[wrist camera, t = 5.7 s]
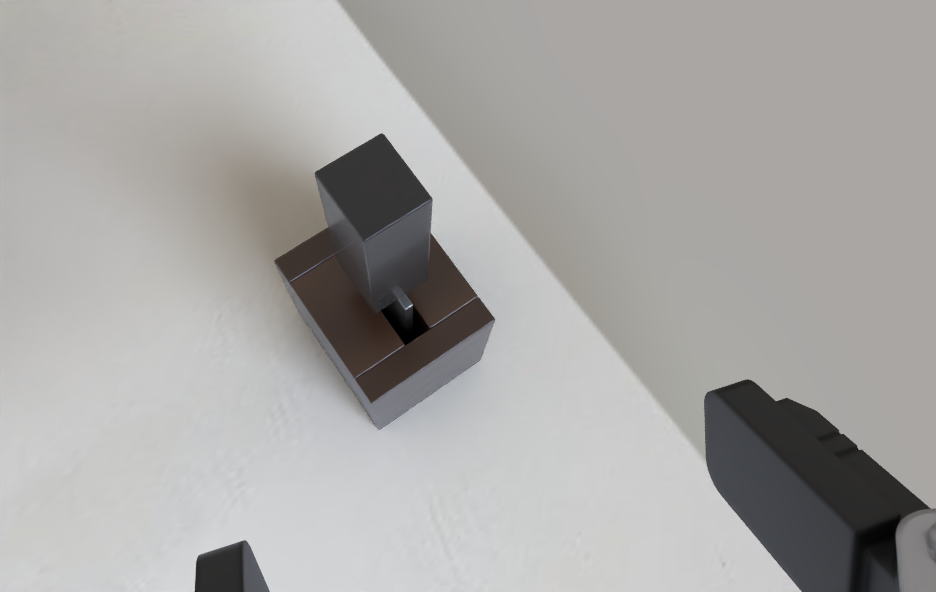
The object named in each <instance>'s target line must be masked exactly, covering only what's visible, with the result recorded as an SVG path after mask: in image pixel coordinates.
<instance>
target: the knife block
mask: <svg viewBox="0 0 936 592" xmlns="http://www.w3.org/2000/svg"><path fill="white" fill-rule="evenodd" d="M274 262H275V265H276V267H277V269H278V271H279V273H280V275H281V277H282V279H283V281H284V283H285V285H286V287H287V289H288V291H289V293H290V295H291V297H292V299H293V302H294V304H295V306H296V308H297V310H298V312H299V313H300V315H301V316H302V318H303V319H304V321H305V322H306V324H307V325H308V326H309V328H310V329H311V331H312V332H313V334H314V335H315V337H316V338H317V340H318V341H319V343H320V344H321V346H322V347H323V349H324V350H325V352H326V353H327V354H328V356H329V357H330V359H331V360H332V362H333V363H334V365H335V366H336V368H337V369H338V371H339V372H340V374H341V375H342V377H343V378H344V379H345V381H346V382H347V384H348V385H349V387H350V388H351V390H352V391H353V393H354V394H355V396H356V397H357V399H358V400H359V402H360V403H361V404H362V406H363V407H364V409H365V410H366V412H367V413H368V415H369V416H370V418H371V419H372V421H373V422H374V424H375V425H376V427H377V428H378V429H379V430H380V429H382V428H383V427H385V426H386V425H388V424H389V423H390V422H392V421H393V420H395V419H396V418H398V417H399V416H401V415H402V414H403V413H405V412H406V411H408V410H409V409H411V408H412V407H414V406H415V405H416V404H418V403H419V402H421V401H422V400H424V399H425V398H427V397H428V396H429V395H431V394H432V393H434V392H435V391H437V390H438V389H440V388H441V387H442V386H444V385H445V384H447V383H448V382H450V381H451V380H453V379H454V378H455V377H457V376H458V375H460V374H461V373H463V372H464V371H466V370H467V369H468V368H470V367H471V366H473V365H474V364H476V363H477V362H479V361H480V360H481V357H482V355H483V352H484V349H485V346H486V344H487V341H488V338H489V335H490V333H491V330H492V327H493V324H494V322H495V318H494V317H493V316H492V314H491V313H490V312H489V310H488V309H487V308H486V306H485V305H484V304H483V302H482V301H481V300H480V298H477V297H478V296H477V294H476V293H475V292H474V290H473V289H472V288H471V286H470V285H469V284H468V282H467V281H466V280H465V278H464V277H463V276H462V274H461V273H460V272H459V270H458V269H457V268H456V266H455V265H454V264H453V262H452V261H451V259H450V258H449V257H448V255H447V254H446V253H445V251H444V250H443V249H442V247H441V246H440V245H439V243H438V242H437V241H436V239H435V238H434V237H433V235H432V234H431V233H430V249H429V265H428V279H427V281H425V282H424V283H422V284H421V285H419V286H418V287H416V288H414V289H413V290H411V291H410V292H408V293H407V294H406V296H407V297H408V298H409V300H410V301H411V302H412V304H413V341H412V342H410V343H409V344H407V345H406V346H405V344H404V343H403V341H402V340H401V339H400V337H399V336H398V334H397V333H396V332H395V330H394V329H393V327H392V326H391V325H390V323H389V322H388V320H387V319H386V317H385V316H384V315H383V313H382V312H381V311H379V312H377V313H374V312H373V311H372V309H371V308H370V306H369V305H368V303H367V302H366V301H365V299H364V298H363V296H362V295H361V294H360V292H359V291H358V289H357V288H356V286H355V285H354V284H353V282H352V281H351V279H350V278H349V276H348V275H347V274H346V272H345V271H344V269H343V268H342V267H341V265H340V264H339V262H338V261H337V258H336V254H335V250H334V247H333V243H332V239H331V235H330V231H329V227H328V228H326V229H325V230H323V231H321V232H320V233H318V234H317V235H315V236H313V237H312V238H310V239H308V240H307V241H305V242H303V243H302V244H300V245H298V246H297V247H295V248H294V249H292V250H290V251H289V252H287V253H285V254H284V255H282V256H280V257H279V258H277V259H276V260H275V261H274Z"/></svg>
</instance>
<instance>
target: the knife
mask: <svg viewBox="0 0 936 592" xmlns="http://www.w3.org/2000/svg"><path fill="white" fill-rule="evenodd" d="M315 178H316V181H317V185H318V189H319V193H320V197H321V201H322V204H323V208H324V212H325V216H326V220H327V224H328V227H329V231H330V235H331V239H332V243H333V247H334V250H335V254H336V258H337V261H338V262H339V264H340V265H341V267H342V268H343V269H344V271H345V272H346V274H347V275H348V276H349V278H350V279H351V281H352V282H353V284H354V285H355V286H356V288H357V289H358V291H359V292H360V294H361V295H362V296H363V298H364V299H365V301H366V302H367V303H368V305H369V306H370V308H371V309H372V311H373V312H374V313H377V312H379V311H381V312H382V313H383V315H384V316H385V317H386V319H387V320H388V322H389V323H390V325H391V326H392V327H393V329H394V330H395V332H396V333H397V334H398V336H399V337H400V339H401V340H402V341H403V343H404V344H405V346H406V345H407V344H409V343H410V342H412V341H413V304H412V302H411V301H410V300H409V298H408V297H407V296H406V294H407V293H408V292H410V291H411V290H413V289H414V288H416V287H418V286H419V285H421V284H422V283H424V282H425V281H427V279H428V265H429V249H430V232H431V215H432V197H431V196H430V195H429V194H428V192H427V191H426V190H425V188H424V187H423V186H422V184H421V183H420V182H419V180H418V179H417V178H416V176H415V175H414V174H413V172H412V171H411V170H410V168H409V167H408V166H407V164H406V163H405V162H404V160H403V159H402V158H401V156H400V155H399V154H398V152H397V151H396V150H395V148H394V147H393V146H392V145H391V143H390V142H389V141H388V139H387V138H386V137H385V135H384V134H379V135H378V136H376V137H374V138H372V139H371V140H369V141H367V142H366V143H364V144H362V145H361V146H359V147H357V148H355V149H354V150H352V151H350V152H349V153H347V154H345V155H343V156H342V157H340V158H338V159H337V160H335V161H333V162H332V163H330V164H328V165H326V166H325V167H323V168H321V169H320V170H318V171H316V172H315Z"/></svg>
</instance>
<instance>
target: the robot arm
mask: <svg viewBox="0 0 936 592" xmlns="http://www.w3.org/2000/svg"><path fill="white" fill-rule="evenodd" d="M704 404H705V405H704V409H705V440H706V441H705V443H706V462H707V467H708V471H709V474H710V476H711V479H712V481H713V483H714V485H715V487H716V489H717V490H718V492H719V493H720V494H721V496H722V497H723V498H724V499H725V500H726V502H727V503H728V504H729V505H730V506H731V508H732V509H733V510H734V511H735V512H736V514H737V515H738V516H739V517H740V518H741V520H742V521H743V522H744V523H745V524H746V526H747V527H748V528H749V529H750V530H751V531H752V533H753V534H754V535H755V536H756V537H757V539H758V540H759V541H760V542H761V543H762V545H763V546H764V547H765V548H766V549H767V551H768V552H769V553H770V554H771V555H772V557H773V558H774V559H775V560H776V561H777V563H778V564H779V565H780V566H781V567H782V569H783V570H784V571H785V572H786V573H787V575H788V576H789V577H790V578H791V579H792V581H793V582H794V583H795V584H796V585H797V586H798V588H799V589H800V590H801V591H802V592H936V509H931V508H929V507H928V506H927V505H926V504H924V503H923V502H922V501H921V500H920V499H919V498H917V497H916V496H915V495H914V494H913V493H912V492H910V491H909V490H908V489H907V488H906V487H905V486H903V485H902V484H901V483H900V482H899V481H898V480H896V479H895V478H894V477H893V476H892V475H890V474H889V473H888V472H887V471H886V470H885V469H883V468H882V467H881V466H880V465H879V464H878V463H877V462H876V461H874V460H873V459H872V458H871V457H870V456H869V455H867V454H866V453H865V452H864V451H863V450H858V448H857V445H856V444H854V443H853V442H852V441H851V440H850V439H849V438H847V437H846V436H845V435H844V434H840V433H839V430H838V429H837V428H836V427H835V426H833V425H832V424H831V423H830V422H829V421H828V420H827V419H825V418H824V417H823V416H822V415H821V414H820V413H818V412H817V411H815V410H813V409H811V408H808V407H806V406H804V405H802V404H799V403H797V402H795V401H793V400H790V399H788V398H785V399H782V400H779V401H775V400H774V399H773V398H772V397H770V396H769V395H768V394H767V393H766V392H765V391H764V390H763V389H762V388H760V387H759V386H758V385H757V384H756V383H755V382H753V381H751V380H743V381H741V382H737V383H734V384H731V385H728V386H725V387H722V388H719V389H716V390H712V391H710V392H708V393H707V394H706V396H705V400H704ZM195 592H270V591H269V589H268V587H267V584H266V582H265V580H264V577H263V575H262V573H261V570H260V568H259V566H258V563H257V561H256V559H255V557H254V554H253V552H252V550H251V547H250V545H249V544H248V542H247V541H246V540H244V541H241V542H238V543H235V544H232V545H229V546H225V547H222V548H219V549H216V550H213V551H210V552H207V553H204V554H201V555H199V556H198V558H197V562H196V580H195Z"/></svg>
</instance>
